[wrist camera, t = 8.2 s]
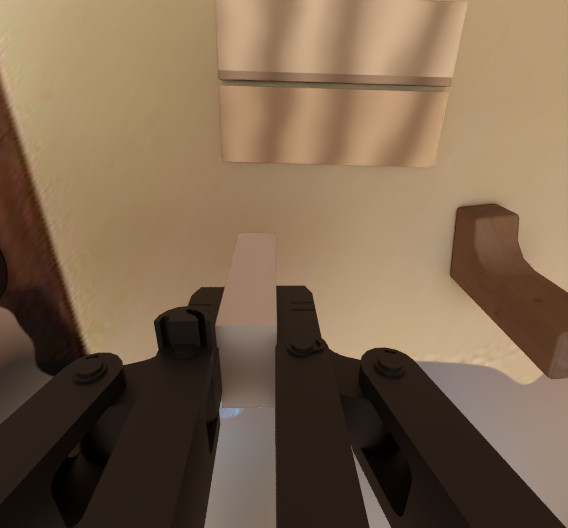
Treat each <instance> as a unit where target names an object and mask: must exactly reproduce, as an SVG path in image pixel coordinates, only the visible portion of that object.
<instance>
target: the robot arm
mask: <svg viewBox="0 0 568 528" xmlns="http://www.w3.org/2000/svg"><path fill="white" fill-rule="evenodd" d="M6 278H7V276H6V267H5V263H4V260H3V258H2V255H1V253H0V297H1V295H2V293H3V291H4V289H5V286H6ZM154 326H155V331H156V337H157V343H158V348H159V350H158V352H157V355H156V356H155V357H153V358H151V359H148V360H144V361H141V362H136V363H132V364H128V365H123V363H122V360H121V359H120V358H119V357H118V356H117V355H115V354H112V353H95V354H90V355H86V356H84V357H82V358H79V359H77V360H75V361H73V362H72V363H70V364H69V365H68V366H66V367H65V368H64V369H63V370H61V371H60V372H59V373H58V374H57V375H56V376H55V377H53V378H52V379H51V380H50V381H49V382H48V383H47V384H46V385H44V386H43V387H42V388H41V389H40V390H39V391H38V392H36V393H35V394H34V395H33V396H32V397H31V398H30V399H29V400H27V401H26V402H25V403H24V404H23V405H22V406H21V407H19V408H18V409H17V410H16V411H15V412H14V413H13V414H12V415H10V416H9V417H8V418H7V419H6V420H5V421H4V422H2V423H1V424H0V528H204V525H205V519H206V512H207V506H208V499H209V493H210V487H211V481H212V474H213V468H214V461H215V455H216V448H217V442H218V436H219V430H220V416H219V408H220V402H221V399H222V408H252V407H275V429H276V430H275V444H276V528H369V523H368V519H367V515H366V510H365V506H364V501H363V497H362V493H361V488H360V484H359V479H358V475H357V471H356V466H355V462H354V457H353V453H352V450H353V452H354V454H355V456H356V458H357V460H358V462H359V464H360V466H361V468H362V470H363V472H364V474H365V476H366V478H367V480H368V482H369V484H370V486H371V488H372V490H373V492H374V494H375V496H376V498H377V500H378V502H379V504H380V506H381V508H382V510H383V512H384V514H385V516H386V518H387V520H388V522H389V524H390V526H391V528H566V527H565V526H564V525H563V524H562V523H561V522H560V520H558V518H557V517H556V516H555V515H554V514H553V513H552V512H551V511H550V509H549V508H548V507H547V506H546V505H545V504H544V503H543V502H542V501H541V500H540V498H539V497H538V496H537V495H536V494H535V493H534V492H533V491H532V490H531V489H530V487H529V486H528V485H527V484H526V483H525V482H524V481H523V480H522V479H521V478H520V476H519V475H518V474H517V473H516V472H515V471H514V470H513V469H512V468H511V467H510V465H509V464H508V463H507V462H506V461H505V460H504V459H503V458H502V457H501V456H500V454H498V452H497V451H496V450H495V449H494V448H493V447H492V446H491V445H490V444H489V442H488V441H487V440H486V439H485V438H484V437H483V436H482V435H481V434H480V433H479V431H478V430H477V429H476V428H475V427H474V426H473V425H472V424H471V423H470V422H469V420H468V419H467V418H466V417H465V416H464V415H463V414H462V413H461V412H460V410H459V409H458V408H457V407H456V406H455V405H454V404H453V403H452V402H451V401H450V400H449V398H448V397H446V395H445V394H444V393H443V392H442V391H441V390H440V389H439V388H438V386H437V385H436V384H435V383H434V382H433V381H432V380H431V379H430V378H429V377H428V375H427V374H426V373H425V372H424V371H423V370H422V369H421V368H420V367H419V365H418V364H417V363H416V362H415V361H414V360H413V359H411V358H410V357H409V356H408V355H406V354H404V353H402V352H400V351H398V350H395V349H390V348H374V349H371V350H368V351H367V352H366V353H365V354H364V355H363V356H362V358H361V360H358V359H354V358H349V357H345V356H342V355H339V354H337V353H335V352H333V351H332V350H330V349H329V347H328V345H327V344H326V342H325V341H324V340H323V339H322V338H321V333H320V328H319V323H318V319H317V314H316V311H315V305H314V300H313V295H312V293H311V292H310V291H309V290H308V289H307V288H306V287H305V286H276V264H275V233H239V234H238V238H237V241H236V245H235V249H234V253H233V257H232V261H231V265H230V269H229V273H228V277H227V281H226V285H225V287H201V288H200V289H199V290H198V291H196V292H195V293H194V294H193V295H192V296H191V299H190V301H189V304H188V306H186V307H177V308H174V309H171V310H168V311H166V312H164V313H162V314H161V315H159V316H158V317H157V318H156V319H155V321H154ZM351 446H352V449H351Z"/></svg>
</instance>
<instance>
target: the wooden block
mask: <svg viewBox="0 0 568 528" xmlns="http://www.w3.org/2000/svg"><path fill="white" fill-rule="evenodd" d="M518 228H519V216H518V214H516V213H514V212H512V211H510V210H507V209H505V208H503V207H501V206H499V205H497V204H490V205H480V206H471V207H461V208H458V211H457V220H456V230H455V239H454V248H453V258H452V267H451V277H452V278H453V279H454V280H455V281H456V283H457V284H458V285H459V286H460V287H461V288H462V289H463V290H464V291H465V292H466V293H467V294H468V295H469V296H470V297H471V298H472V299H473V300H474V301H475V302H476V303H477V304H478V305H479V306H480V307H481V308H482V310H483V311H484V312H485V313H486V314H487V315H488V316H489V317H490V318H491V319H492V320H493V321H494V322H495V323H496V324H497V325H498V326H499V327H500V328H501V329H502V330H503V331H504V332H505V333H506V334H507V336H508V337H509V338H510V339H511V340H512V341H513V342H514V343H515V344H516V345H517V346H518V347H519V348H520V349H521V350H522V351H523V352H524V353H525V354H526V355H527V356H528V357H529V358H530V359H531V360H532V361H533V363H534V364H535V365H536V366H537V367H538V368H539V369H540V370H541V371H542V372H543V373H544V374H545V375H546V376H547V377H549V378H551V379H561V378H568V292H566V291H565V290H563V289H562V288H560V287H559V286H557V285H556V284H554V283H553V282H551V281H550V280H548V279H547V278H545V277H544V276H542V275H541V274H539V273H538V272H536V271H535V270H534V269H533V268H532V267H531V266H530V265H529V264H528V263H527V262H526V260H525V259H524V258H523V255H522V252H521V249H520V246H519V243H518Z"/></svg>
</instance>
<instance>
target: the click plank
mask: <svg viewBox="0 0 568 528" xmlns="http://www.w3.org/2000/svg"><path fill="white" fill-rule="evenodd" d="M219 93H220V116H221V139H222V161H229V162H264V163H299V164H334V165H369V166H404V167H434V165H435V160H436V155H437V150H438V145H439V140H440V135H441V130H442V125H443V120H444V115H445V110H446V105H447V100H448V95H449V92H419V91H387V90H354V89H322V88H290V87H257V86H225V85H219Z"/></svg>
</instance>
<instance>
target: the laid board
mask: <svg viewBox="0 0 568 528" xmlns="http://www.w3.org/2000/svg"><path fill="white" fill-rule="evenodd" d="M467 4H468V2H448V1H419V0H215V7H216V29H217V51H218V75H219V79H221V80H244V81H276V82H308V83H340V84H372V85H405V86H437V87H446V86H451V83H452V77H453V72H454V67H455V62H456V57H457V52H458V47H459V43H460V38H461V33H462V28H463V23H464V18H465V13H466V8H467Z"/></svg>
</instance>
